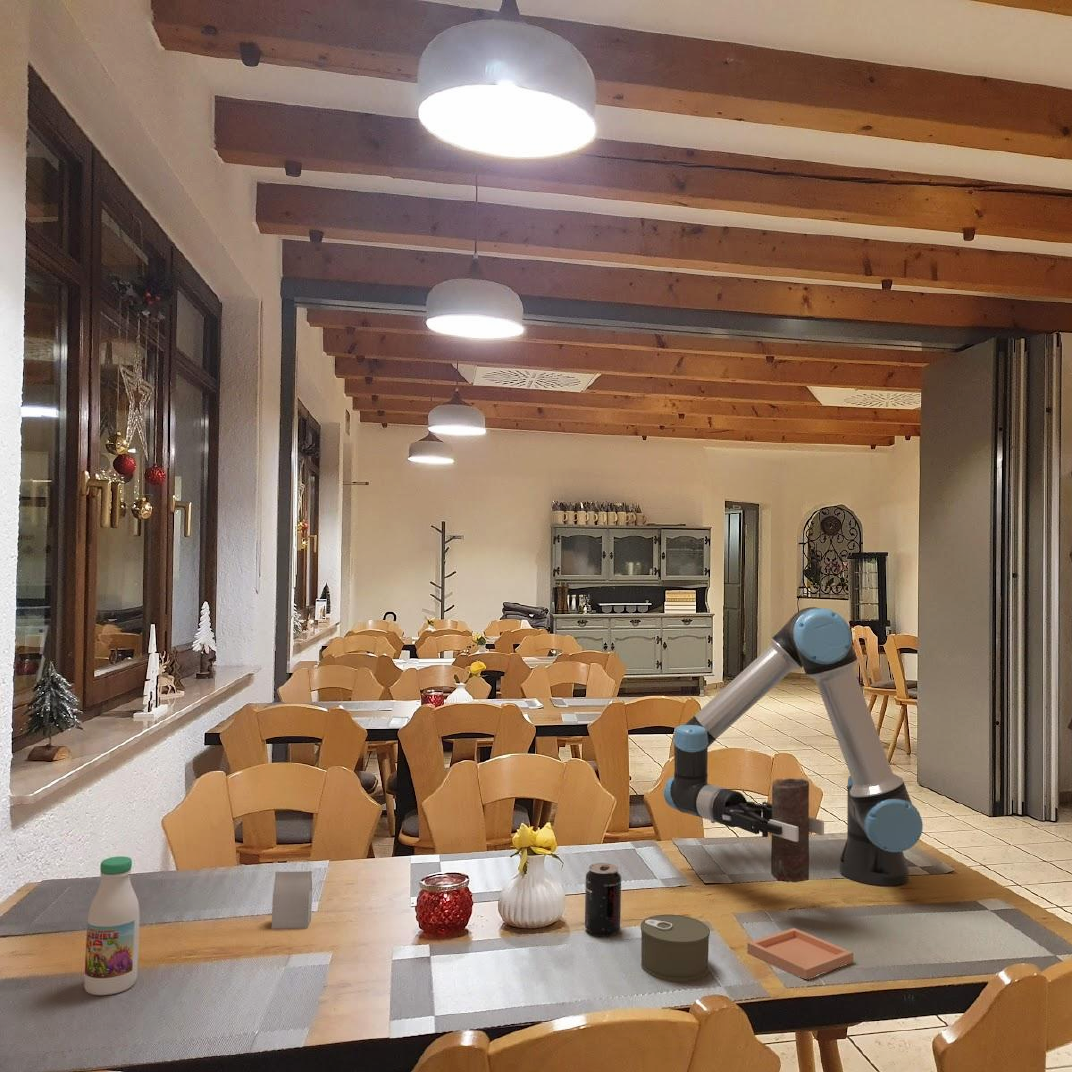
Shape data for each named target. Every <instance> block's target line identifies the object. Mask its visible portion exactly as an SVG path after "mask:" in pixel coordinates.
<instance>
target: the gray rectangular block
mask: <svg viewBox="0 0 1072 1072" xmlns="http://www.w3.org/2000/svg"><path fill="white" fill-rule="evenodd" d="M312 877H313V876H312V871H311V870H293V871H292V870H290V871H287V870H286V871H284V870H283V871H282V870H281V871H279V870H276V871H275V873H274V881H273V882H274V884H273V890H272V891H273V892H272V903H271V906H272V908H271V929H272V930H274V929H276V930H278V929H282V930H283V929H309V927H310V924H311V922H312V908H313V907H312V903H313V901H312V900H313V882H312V881H313V880H312Z"/></svg>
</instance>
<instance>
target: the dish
mask: <svg viewBox="0 0 1072 1072" xmlns="http://www.w3.org/2000/svg"><path fill="white" fill-rule="evenodd" d="M746 948H747V954H749V955H751V956H752V957H753V956H754V957H756V958H758V959H759V960H762V961H764V962H766V963H768V964H770V965H773V966H774V967H776V968H779V969H781V970H783V971H785V972H787V973H789V972H791V973H792V975H793V974H795V975H797V976H796V977H798V976H800V977H801V978H800V977H799V978H800V979H802V978H804V979H809V978H811V977H814V976H816V975H818V974H821V973H823V972H827V971H830V972H832V971H831V970H833V969H835V968H837V967H840V966H842V965H845V964H849V965H851V964H853V963H854V952H852V951H850V950H848V949H845V948H843V947H841V946H838V945H836V944H833V943H831V942H829V941H826V940H824V939H822V938H819V937H817V936H815V935H812V934H810V933H807V932H805V931H802V930H800V929H798V928H795V927H792V928H789V929H787V930H783V931H782V930H781V931H779V932H777V933H774V934H770V935H768V936H764V937H761V938H758V939H755V940H752V941H749V942H747V947H746ZM850 963H851V964H850ZM833 971H834V970H833ZM791 973H790V974H791ZM795 975H794V976H795ZM804 979H803V980H804ZM809 980H810V979H809Z"/></svg>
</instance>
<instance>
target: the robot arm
mask: <svg viewBox="0 0 1072 1072" xmlns="http://www.w3.org/2000/svg"><path fill="white" fill-rule="evenodd" d="M858 661H859V660H858V657H857V654H856V651H855V648H854V646H853V636H852V630H851V628H850V626H849V624H848V622H847V621H846V619H845V618H843V617H842V616H841V614H839V613H838V612H836V611H833V610H832V609H829V608H823V607H812V606H811V607H805V608H802V609H801V610H799V611H797V612H796V613H794V614H793V616H791V618H789V620H788V621H787V622H786V624H784V626H783V627H782V628H781V629H780V630H778V632H777V633H776V634H775V635H774V636H772V637H771V638H770V644H769V646H768V647H767V648H766V649H765V650H764V651H763V652H762V653H760V655H759V656H758V657H757V658H755V659H754V660H753V661H752V662H751V663H750V664H749V665H748V666H747V667H745V668H744V670H742V671H741V672H740V673H739V674H738V675H736V676H735V678H734V679H733V680H731V681H730V682H729V683H728V684H727V685H726V686H725V687H724V688H723V689H722V690H720V692H718V693H717V694H716V695H715V696H714V697H713V698H712V699H711V700H710V701H708V702H707V703H706V704H705V705H704V706H703V707H702V708H701V709H700V710H699V711H698V712H696V714H694V716H693V717H691V718H690V719H689V720H688V721H687V722H686V723H684V724H682V725H678V726H676V727H675V729H674V734H673V739H672V741H673V753H674V754H673V755H674V756H673V759H674V760H673V762H674V767H673V768H674V771H673V776H670V777H669V778H668V780H667V781H666V782H665V787H664V788H663V797H664V801H665V803H666V804H667V805H668V807H670V808H671V809H674V810H677V811H678V812H681V813H683V814H688V815H690V816H691V815H692V816H695V817H698V818H701V819H705V820H709V821H710V823H711V824H715V823H718V824H721V825H723V826H726V827H729V828H739V829H741V830H744V831H747V832H749V833H752V834H754V835H759V834H760V833H761V837H762V838H768V837H769V835H771V836H772V835H775V836H779V837H782V838H785V839H788V840H792V841H795V842H797V841H799V839H798V827H796V826H793V825H790V824H786V823H783V822H779V821H776V820H772V803H769V802H767V801H762V804H761V803H756V802H754V801H747V799H746V796H744V794H743V793H741V792H740V791H736V790H733V789H729V788H726V787H722V786H719V785H715V784H710V783H708V775H709V774H708V757H709V755H708V753H709V751H708V749H709V747H710V746H711V745H712V744H713V743H714V742H715V741H716V740H717V739H718V738H719V737H720V736H722V735H723V734H724V733H725V732H726V731H727V730H728V729H729V728H730V727H731V726H732V725H734V724H735V723H736V722H737V721H738V720H739V719H740V718H741V717H742V716H744V715H745V714H746V713H747V712H748V711H749V710H750V709H751V708H752V707H753V706H755V705H756V704H757V703H758V701H760V700H761V699H762V698H763V697H764V696H765V695H766V694H768V692H770V691H771V690H772V689H773V688H775V686H776V685H778V684H780V682H781V681H782V680H783V679H784V678H785V677H786V676H787V675H788V674H789V673H791V672H792V671H793V670H800V669H802V668H803V670H804V674H805V676H806V677H808V678H810V679H813V680H814V681H815V683H816V685H817V688H818V691H819V693H820V697H821V699H822V702H823V705H824V707H825V710H826V713H827V716H828V718H829V722H830V724H831V727H832V729H833V731H834V734H835V737H836V740H837V742H838V746H839V747H840V751H841V753H842V755H843V759H844V762H845V764H846V766H847V767H846V768H847V771H848V772H849V774H850V775H849V776H848V778H847V785H846V790H847V796H846V798H847V799H846V800H847V808H846V809H847V821H846V823H847V833H846V834H847V835H846V836H847V837H846V841H845V844H844V847H843V849H842V852H841V855H840V858H839V862H838V863H839V865H838V866H839V867H838V869H839V871H838V872H839V873H840V872H841V873H840V874H841V875H842V874H843V875H842V876H844V877H846V878H847V879H850V880H853V881H856V882H859V883H864V884H868V885H872V886H873V885H874V886H875V885H876V886H885V887H886V886H900V885H905V884H906V883H908V882H909V881H910V880H909V876H910V875H909V867H908V864H907V861H906V858H905V855H904V852H905V851H907V850H909V849H911V848H913V847H914V846H915V845H917V843H918V841H919V839H920V838H921V836H922V833H923V829H924V828H923V825H924V824H923V819H922V817H921V813H920V812H919V811H918V808H917V807H916V806H915V805H913V803H912V801H911V798H910V794H909V791H908V789H907V787H906V784H905V781H904V779H903V777H901V776H899V775H897V774H896V773H894V772H893V770H892V768H891V765H890V762H889V759H888V758H887V755H886V751H885V749H884V745H883V744H882V741H881V739H880V738H881V737H880V735H879V733H878V729H877V728H876V725H875V722H874V719H873V717H872V715H871V712H870V708H869V707H868V703H867V701H866V699H865V696H864V693H863V691H862V687H861V685H860V683H859V679H858V677H857V675H856V672H855V666H856V665H857V663H858ZM809 833H813V834H816V835H820V836H825V821H824V820H821V819H819V818H814V817H811V816H809Z"/></svg>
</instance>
